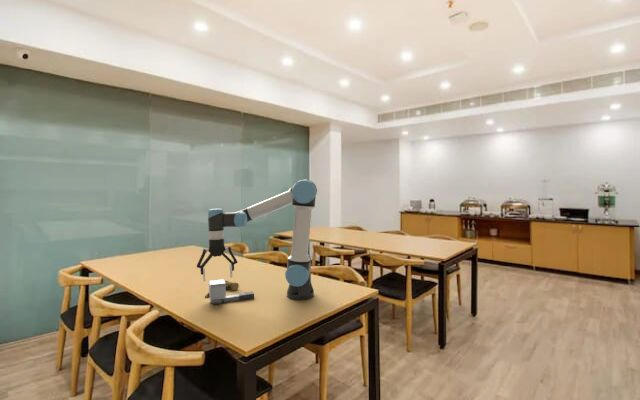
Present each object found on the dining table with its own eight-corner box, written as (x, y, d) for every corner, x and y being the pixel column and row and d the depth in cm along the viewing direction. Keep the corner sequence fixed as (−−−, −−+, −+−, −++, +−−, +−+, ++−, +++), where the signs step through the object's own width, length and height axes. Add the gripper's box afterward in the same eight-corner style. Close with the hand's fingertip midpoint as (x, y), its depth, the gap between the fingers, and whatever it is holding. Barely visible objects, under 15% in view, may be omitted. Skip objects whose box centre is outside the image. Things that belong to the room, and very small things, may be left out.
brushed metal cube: (223, 293, 174) (223, 279, 173) (225, 298, 167) (225, 283, 167) (209, 295, 171) (209, 280, 170) (210, 300, 164) (210, 284, 164)
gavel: (211, 294, 173) (198, 291, 178) (211, 302, 173) (198, 299, 178) (238, 281, 191) (226, 279, 196) (239, 289, 192) (226, 286, 197)
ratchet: (251, 295, 180) (251, 281, 180) (254, 299, 174) (254, 285, 173) (209, 301, 171) (209, 286, 170) (211, 305, 164) (210, 290, 164)
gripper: (239, 235, 176) (240, 273, 177) (190, 239, 166) (192, 280, 167) (242, 237, 169) (243, 277, 170) (191, 241, 159) (192, 284, 160)
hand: (217, 278), depth 168 cm, fingers open, 13 cm apart
